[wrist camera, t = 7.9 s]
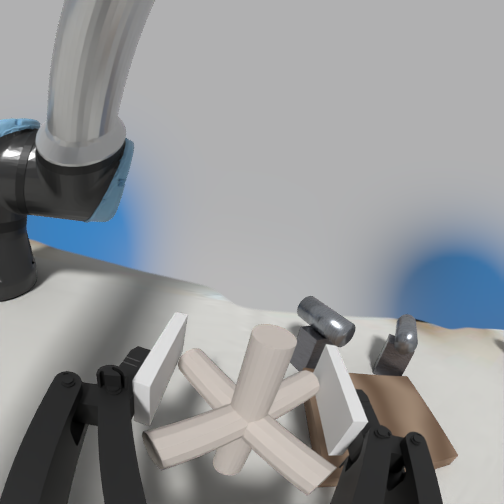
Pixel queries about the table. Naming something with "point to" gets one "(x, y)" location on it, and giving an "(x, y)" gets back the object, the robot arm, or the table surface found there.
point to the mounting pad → (385, 419)
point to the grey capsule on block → (318, 332)
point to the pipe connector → (245, 413)
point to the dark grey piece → (398, 348)
